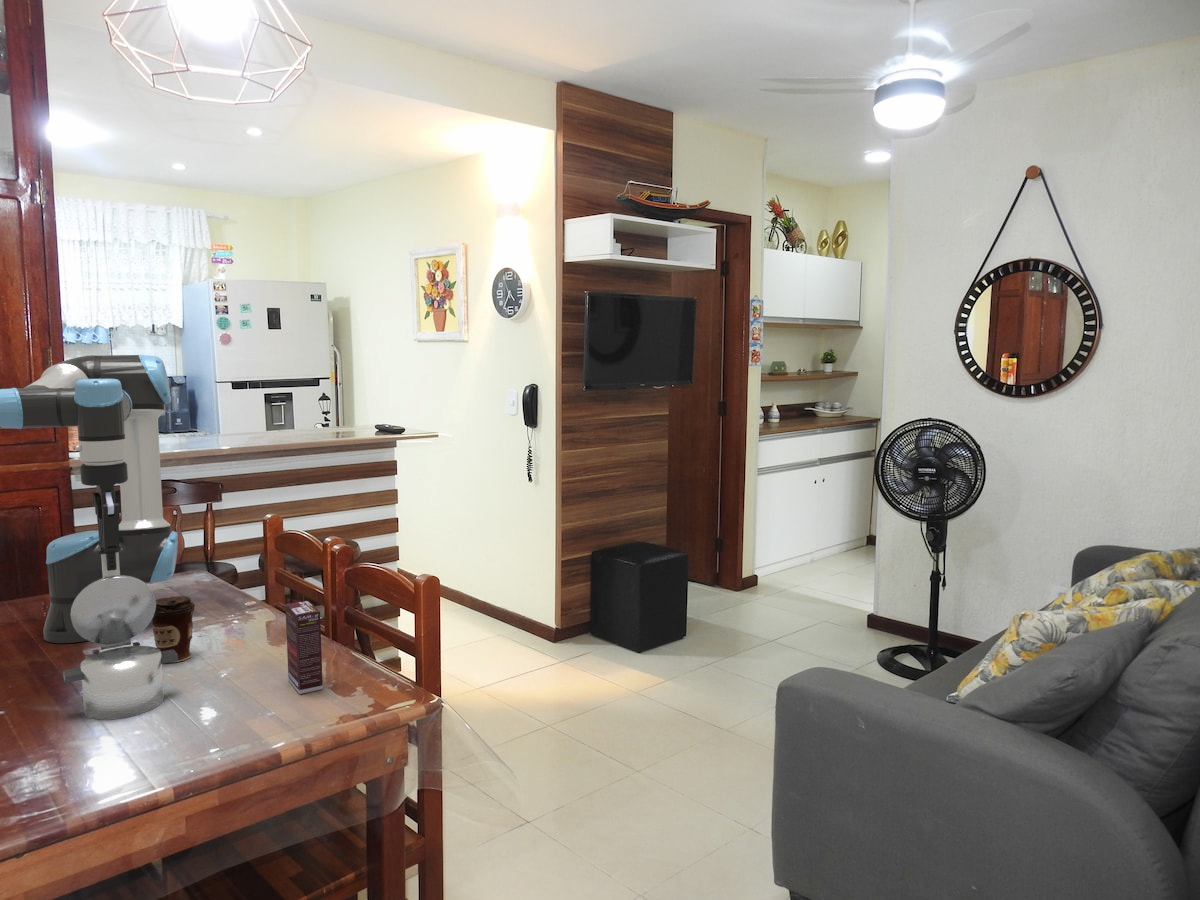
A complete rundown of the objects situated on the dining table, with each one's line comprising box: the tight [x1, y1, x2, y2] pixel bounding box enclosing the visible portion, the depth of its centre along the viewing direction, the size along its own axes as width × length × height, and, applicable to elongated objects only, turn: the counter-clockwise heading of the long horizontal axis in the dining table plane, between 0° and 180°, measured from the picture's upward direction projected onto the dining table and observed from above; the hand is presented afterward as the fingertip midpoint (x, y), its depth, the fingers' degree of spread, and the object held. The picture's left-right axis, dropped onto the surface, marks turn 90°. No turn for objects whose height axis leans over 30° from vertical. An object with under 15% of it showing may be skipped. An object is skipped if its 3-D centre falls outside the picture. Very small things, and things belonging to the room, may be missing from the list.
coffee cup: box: [151, 595, 195, 664], centre depth 179 cm, size 9×8×13 cm
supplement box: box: [285, 600, 324, 695], centre depth 165 cm, size 9×5×16 cm, turn 34°
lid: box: [71, 575, 157, 651], centre depth 160 cm, size 15×14×4 cm
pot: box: [62, 641, 178, 721], centre depth 157 cm, size 14×18×9 cm
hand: (112, 585), depth 158 cm, fingers closed
